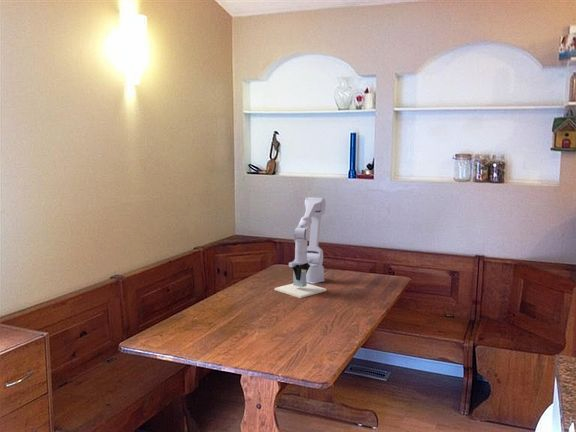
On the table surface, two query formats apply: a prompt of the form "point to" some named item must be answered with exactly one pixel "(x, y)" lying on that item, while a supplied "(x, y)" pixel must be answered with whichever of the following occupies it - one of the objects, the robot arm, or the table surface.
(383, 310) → the table surface
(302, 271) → the block
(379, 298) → the table surface
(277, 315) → the table surface
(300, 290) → the tile
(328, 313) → the table surface
